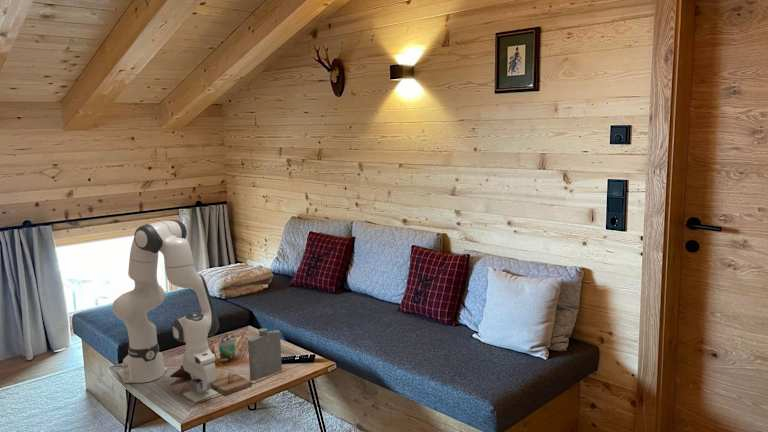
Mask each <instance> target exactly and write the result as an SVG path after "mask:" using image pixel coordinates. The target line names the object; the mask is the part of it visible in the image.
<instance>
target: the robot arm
mask: <svg viewBox="0 0 768 432" xmlns="http://www.w3.org/2000/svg"><path fill="white" fill-rule="evenodd" d="M187 231H188V230H187V227H186V225H185V224H184V223H183V222H182V221H181V220H178V219H177V220H176V219H170V220H159V221H156V222H152V223H148V224H147V223H146V224H145V223H144V224H143V225H140V226H139V227H138V228H136V230H135V232H134V234H133V236H134V237H133V240H132V243H131V247H130V250H129V251H130V252H129V261H128V270H127V273H128V274H127V275H128V277H129V278H130V279H131V280H132V281H134V288H133V289H132V290H129V291H126V292H125V293H122V294H121V295H120V296H118V297H117V298H116V299H115V300H114V301H113V303H112V312H113V314H114V316H115V317H116V318H117V319H119V320H121V321H122V322H123V323H124V325H125V327H126V330H127V335H128V343H129V344H128V351H127V352H128V353H127V355H126V356H125V357H124V358H123V359H122V363H121V364H120V369H118V371H117V373H118V375H119V376H120V378H121V380H122V382H123V383H124V384H131V383H132V384H133V383H134V384H139V383H141V384H142V383H148V382H153V381H155V380H158V379H160V378H161V377H163V376H164V375H165V372H167V371H168V370H169V369H168V367H167V366H165V363H164V356H163V353H162V352H161V351H160V345H159V342H158V337H157V336H158V335H157V326H156V324H155V323H153V322H152V321H149V319H148V318H149V317H148V312H150V311H152V310H154V309H156V308H158V307H159V306H160V305H161V304H162V303H163V302H165V299H166V292H165V289H164V288H163V287H162V286H161V285H160V284H159V281H158V273H157V272H158V262H159V252H160V253H161V254H162V256H163V258H164V268H165V275H166V279H167V280H168V282H169V283H171V284H172V285H173V286H175V287H178V288H182V289H189V290H192V291H193V292H195V293H196V296H197V299H198V302H199V305H200V309H201V312H199V311H193V312H192V311H191V312H189V313H186V314H185V316H183V317H180V318H177V319H175V320H174V322H173V323H172V325H171V330H172V337H173V338H174V339H175V340H176V341H178V342H180V343H185V350H184V353H183V354H182V355H183V356H182V365H183V368H184V370H185V371H187V372H188V373H190V375H191V378H190V379H191V380H193V379H196V378H199V379H201V380H202V382H203V384H202V385H201V388H202V389H203V390H206V389H207V384H208V383H210V382H213V381H216V380H217V379H216V378H217V370H216V368H217V367H216V363H215V361H216V359H217V357H216V355H215V354H214V353H213V352H212V350H211V349H210V347H209V345H210V344H209V341H208V337H211V336H212V337H213V336H214V335H215V334H216V333H217V331H218V330H219V328H220V320H219V318H218V316H217V314H216V311H215V308H214V305H213V302H212V298H211V295H210V291H209V289H208V284H207V282H206V280H205V278H204V276H203V275H202V274H199V273H198V271H197V270H196V267H195V262H194V261H195V260H194V255H193V251H192V248H191V244H190V242H189V241H188V240H187V239H186V238H187V234H188V232H187Z"/></svg>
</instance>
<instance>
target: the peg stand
mask: <svg viewBox="0 0 768 432" xmlns="http://www.w3.org/2000/svg"><path fill="white" fill-rule="evenodd" d="M252 383H253V381H252V380H249V379H247V378H246V377H243V376H241V375H239V374H238V373H234V374H233V371H228V372H227V376H225V377H222V378H218V379H215V381H213V382H210V388H211V389H212V390H214V391H216V392H218V393H219V394H222V395H223V396H225V397H226V396H229V395H233V394H235V393H237V392H240V391H243V390H245V389H248V388H251V387H252V386H253V384H252Z"/></svg>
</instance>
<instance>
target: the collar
mask: <svg viewBox="0 0 768 432" xmlns="http://www.w3.org/2000/svg"><path fill="white" fill-rule="evenodd" d="M202 384H203V382H202V380H201V379H199V378H196V379H193V380H192V379H191V380H190V379H189V389H190V391H193V392H195V393H196V394H199V393H202V392H205V391H207V390H210V388H211V387H210V383H208V384H207V389H206V390H203V389H202V388H201V385H202Z"/></svg>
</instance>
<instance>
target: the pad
mask: <svg viewBox="0 0 768 432" xmlns="http://www.w3.org/2000/svg"><path fill="white" fill-rule="evenodd" d="M215 395H219V392H218V391H216V390H214V389H213V388H211V387H210V390H207V391H205V392H202V393H199V394H196V393H195V392H193V391H191V390H190V391H187V392H184V393H182V396H184V397H186V398H188V399H189V400H191V401H192V402H194V403H198V402H200V401H204V400H205V399H208V398H211V397H214V396H215Z"/></svg>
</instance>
